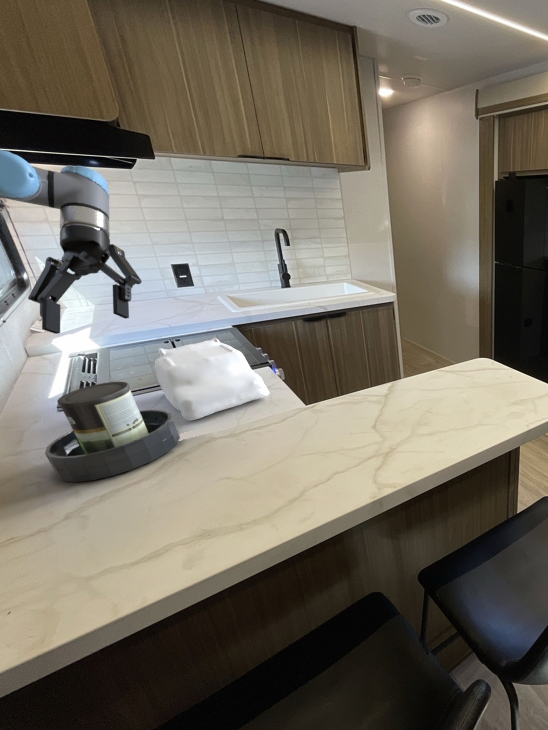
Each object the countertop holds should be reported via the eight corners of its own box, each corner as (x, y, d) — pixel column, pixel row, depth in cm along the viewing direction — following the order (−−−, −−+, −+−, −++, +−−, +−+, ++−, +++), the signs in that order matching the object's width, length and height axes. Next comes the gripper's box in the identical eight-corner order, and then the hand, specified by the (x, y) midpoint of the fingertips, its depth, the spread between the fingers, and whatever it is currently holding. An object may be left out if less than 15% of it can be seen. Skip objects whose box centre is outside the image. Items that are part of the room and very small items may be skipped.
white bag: (236, 373, 126) (223, 332, 121) (273, 398, 107) (259, 350, 102) (161, 394, 113) (143, 349, 108) (188, 426, 94) (167, 373, 89)
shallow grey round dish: (28, 487, 74) (13, 462, 72) (111, 434, 92) (101, 413, 90) (138, 477, 76) (126, 452, 74) (199, 427, 93) (191, 406, 91)
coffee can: (87, 474, 77) (52, 408, 72) (91, 452, 84) (61, 391, 79) (154, 453, 83) (127, 391, 78) (153, 434, 90) (129, 377, 85)
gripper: (159, 232, 91) (164, 316, 86) (43, 256, 89) (41, 343, 84) (130, 210, 84) (134, 301, 79) (3, 236, 82) (-1, 331, 77)
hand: (86, 323), depth 81 cm, fingers open, 13 cm apart
